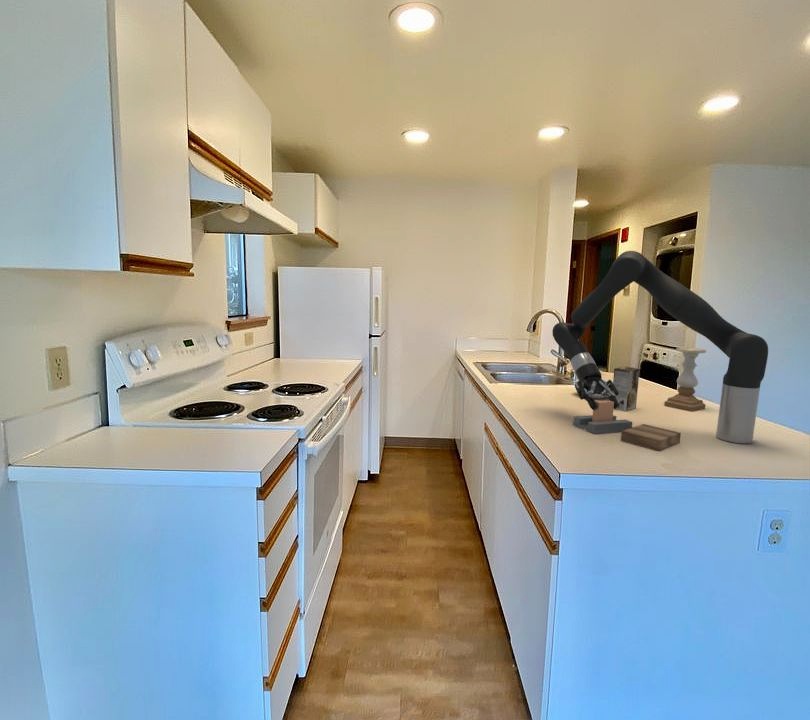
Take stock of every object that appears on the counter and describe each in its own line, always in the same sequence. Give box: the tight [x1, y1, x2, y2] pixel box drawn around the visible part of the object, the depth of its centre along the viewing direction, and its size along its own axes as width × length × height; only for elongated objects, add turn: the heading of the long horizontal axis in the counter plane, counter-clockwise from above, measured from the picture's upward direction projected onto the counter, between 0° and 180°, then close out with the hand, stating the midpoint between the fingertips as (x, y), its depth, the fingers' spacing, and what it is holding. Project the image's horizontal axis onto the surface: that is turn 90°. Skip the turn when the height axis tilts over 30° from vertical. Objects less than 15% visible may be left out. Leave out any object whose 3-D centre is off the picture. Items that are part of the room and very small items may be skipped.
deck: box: [620, 423, 682, 452], centre depth 134 cm, size 14×11×3 cm
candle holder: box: [663, 347, 707, 412], centre depth 178 cm, size 11×11×24 cm
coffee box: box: [612, 366, 640, 412], centre depth 175 cm, size 9×6×16 cm
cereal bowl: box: [574, 378, 613, 400], centre depth 195 cm, size 17×17×7 cm
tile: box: [592, 399, 614, 422], centre depth 147 cm, size 6×2×8 cm, turn 107°
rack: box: [572, 414, 633, 435], centre depth 147 cm, size 15×11×3 cm
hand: (606, 408), depth 145 cm, fingers open, 8 cm apart
